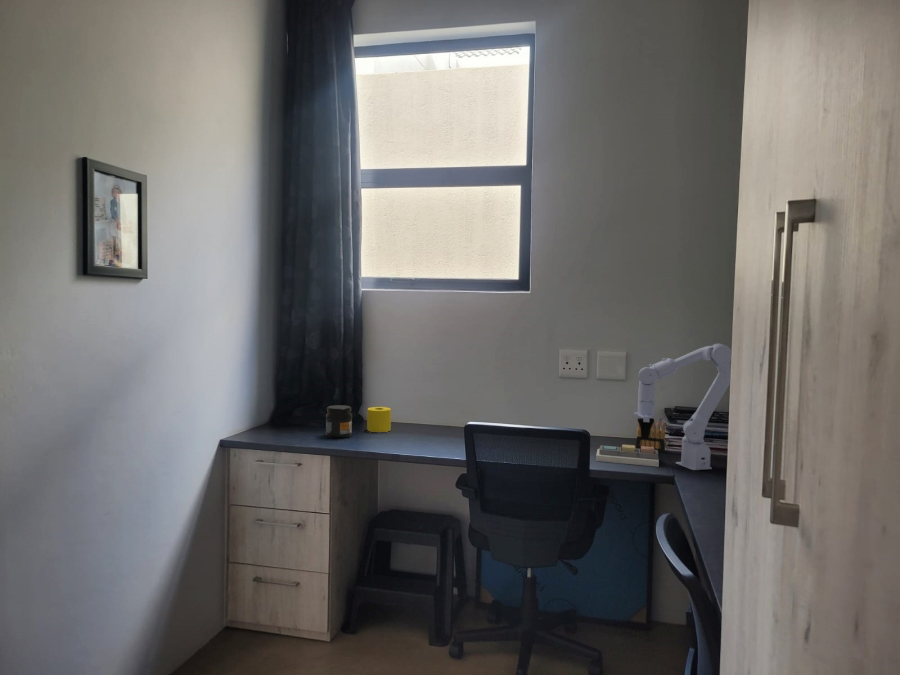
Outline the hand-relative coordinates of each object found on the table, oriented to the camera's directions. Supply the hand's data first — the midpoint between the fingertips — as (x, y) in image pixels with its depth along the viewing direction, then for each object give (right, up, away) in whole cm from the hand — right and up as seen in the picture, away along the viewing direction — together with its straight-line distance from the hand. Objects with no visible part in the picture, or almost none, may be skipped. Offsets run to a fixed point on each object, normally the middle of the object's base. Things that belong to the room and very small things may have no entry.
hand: (645, 438), depth 218 cm
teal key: (-12, -6, +4) cm, 13 cm away
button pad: (-5, -8, +2) cm, 10 cm away
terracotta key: (+1, -5, 0) cm, 5 cm away
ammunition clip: (+8, -8, +19) cm, 22 cm away
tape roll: (-100, -4, +44) cm, 109 cm away
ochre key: (-5, -5, +2) cm, 7 cm away
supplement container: (-115, -4, +31) cm, 119 cm away
